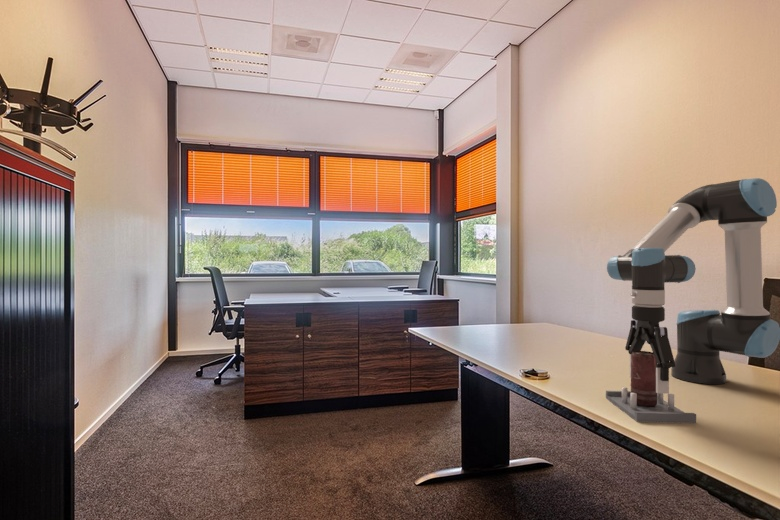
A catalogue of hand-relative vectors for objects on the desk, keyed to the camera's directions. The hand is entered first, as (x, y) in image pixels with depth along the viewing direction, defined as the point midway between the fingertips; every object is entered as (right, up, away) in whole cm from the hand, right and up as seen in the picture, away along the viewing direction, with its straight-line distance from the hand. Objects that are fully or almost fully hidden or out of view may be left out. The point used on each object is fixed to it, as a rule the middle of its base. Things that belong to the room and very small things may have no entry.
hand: (648, 385), depth 113 cm
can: (0, -6, +2) cm, 6 cm away
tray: (0, -7, +1) cm, 7 cm away
